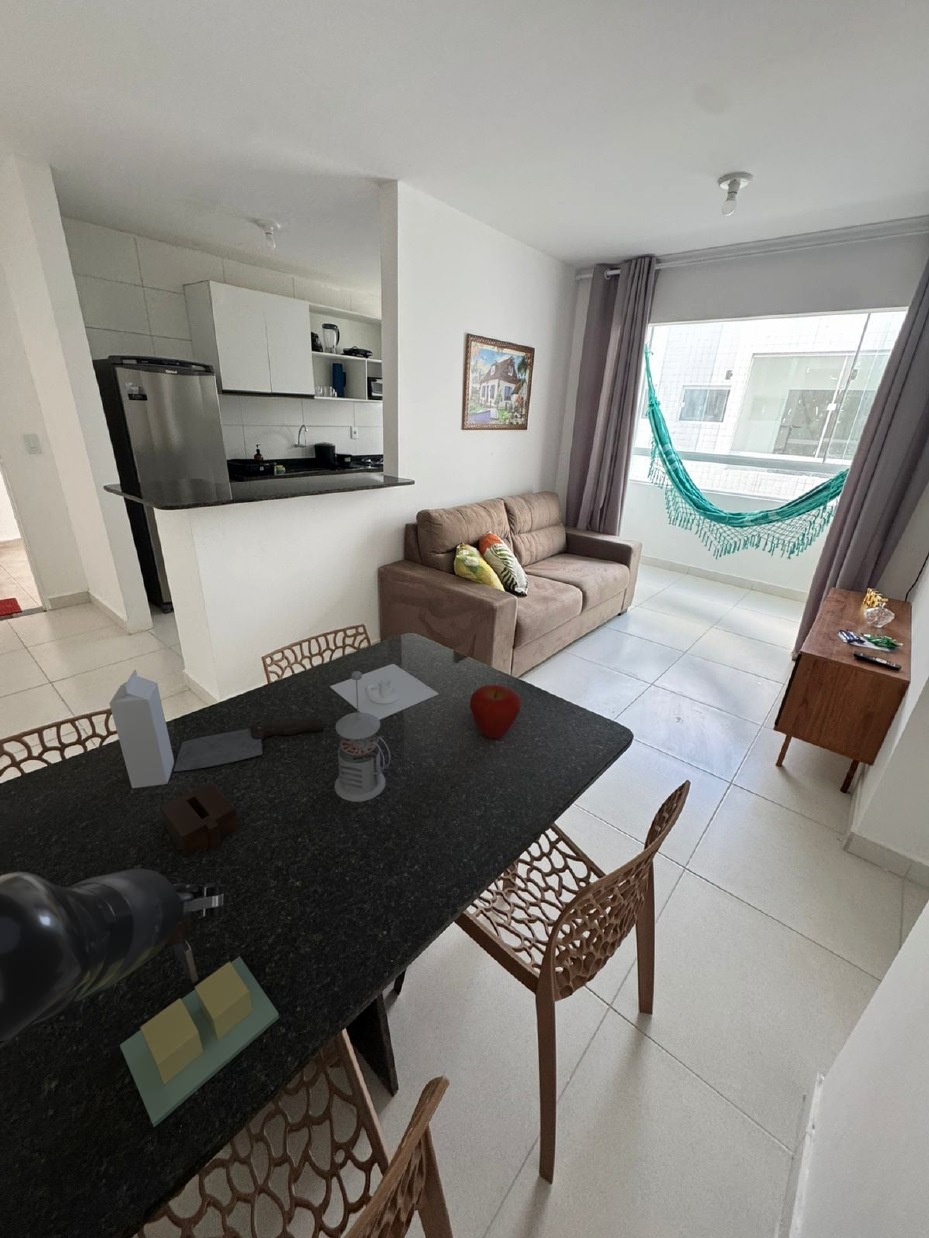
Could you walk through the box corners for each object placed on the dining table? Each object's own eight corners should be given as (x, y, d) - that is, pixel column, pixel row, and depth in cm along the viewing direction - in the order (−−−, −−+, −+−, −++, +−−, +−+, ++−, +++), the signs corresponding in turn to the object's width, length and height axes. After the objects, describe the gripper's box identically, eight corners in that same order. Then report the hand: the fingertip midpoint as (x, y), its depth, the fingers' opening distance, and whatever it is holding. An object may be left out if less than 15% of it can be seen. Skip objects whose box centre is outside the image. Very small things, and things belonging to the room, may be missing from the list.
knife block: (190, 863, 81) (186, 842, 79) (161, 821, 88) (156, 801, 87) (243, 832, 87) (239, 812, 85) (211, 796, 94) (208, 777, 93)
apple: (518, 723, 121) (523, 679, 116) (514, 752, 111) (520, 705, 106) (472, 716, 122) (475, 673, 117) (464, 744, 112) (467, 697, 108)
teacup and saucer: (360, 693, 129) (359, 679, 127) (386, 683, 134) (386, 670, 132) (380, 709, 123) (379, 694, 121) (406, 698, 128) (406, 684, 126)
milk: (132, 789, 95) (103, 687, 86) (141, 767, 100) (115, 670, 91) (168, 784, 97) (144, 684, 88) (175, 763, 102) (153, 667, 93)
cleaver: (321, 718, 118) (320, 711, 117) (328, 743, 110) (328, 735, 109) (177, 746, 107) (175, 738, 106) (173, 777, 99) (171, 768, 98)
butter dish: (154, 1127, 52) (144, 1102, 50) (121, 1048, 58) (111, 1023, 56) (279, 1017, 62) (275, 993, 60) (240, 959, 68) (235, 935, 66)
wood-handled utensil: (184, 990, 53) (162, 911, 48) (165, 956, 56) (143, 879, 51) (207, 972, 55) (189, 894, 50) (188, 941, 58) (168, 864, 53)
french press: (357, 760, 106) (353, 653, 96) (403, 781, 101) (404, 671, 91) (323, 788, 98) (315, 675, 88) (370, 813, 93) (368, 696, 83)
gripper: (208, 859, 41) (249, 849, 57) (6, 887, 38) (108, 868, 54) (203, 968, 39) (247, 925, 54) (-14, 1007, 36) (99, 950, 51)
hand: (178, 897), depth 54 cm, fingers closed on wood-handled utensil, 2 cm apart
